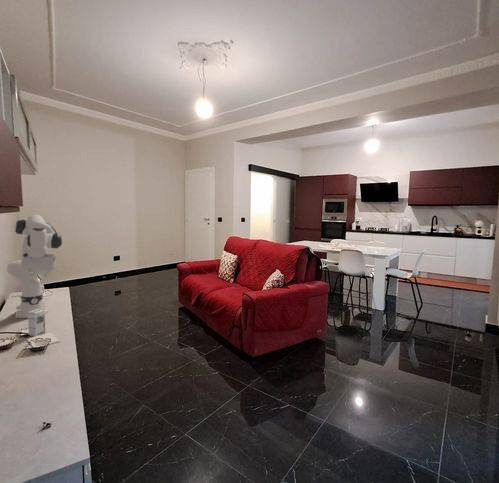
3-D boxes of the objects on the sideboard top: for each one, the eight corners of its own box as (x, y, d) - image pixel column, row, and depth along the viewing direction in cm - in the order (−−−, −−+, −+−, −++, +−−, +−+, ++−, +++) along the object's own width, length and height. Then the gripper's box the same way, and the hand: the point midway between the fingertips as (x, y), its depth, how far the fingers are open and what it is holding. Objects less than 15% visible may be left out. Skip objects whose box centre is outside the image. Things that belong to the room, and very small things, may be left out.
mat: (26, 339, 166) (26, 338, 166) (50, 333, 176) (50, 332, 175) (34, 348, 156) (34, 347, 156) (59, 341, 165) (59, 340, 165)
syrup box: (36, 336, 170) (36, 312, 169) (28, 335, 171) (27, 311, 170) (45, 333, 176) (44, 309, 175) (37, 332, 177) (36, 308, 176)
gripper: (58, 253, 183) (59, 275, 183) (27, 253, 184) (27, 275, 184) (51, 254, 177) (51, 277, 177) (19, 254, 178) (19, 277, 178)
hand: (39, 276), depth 181 cm, fingers open, 8 cm apart
